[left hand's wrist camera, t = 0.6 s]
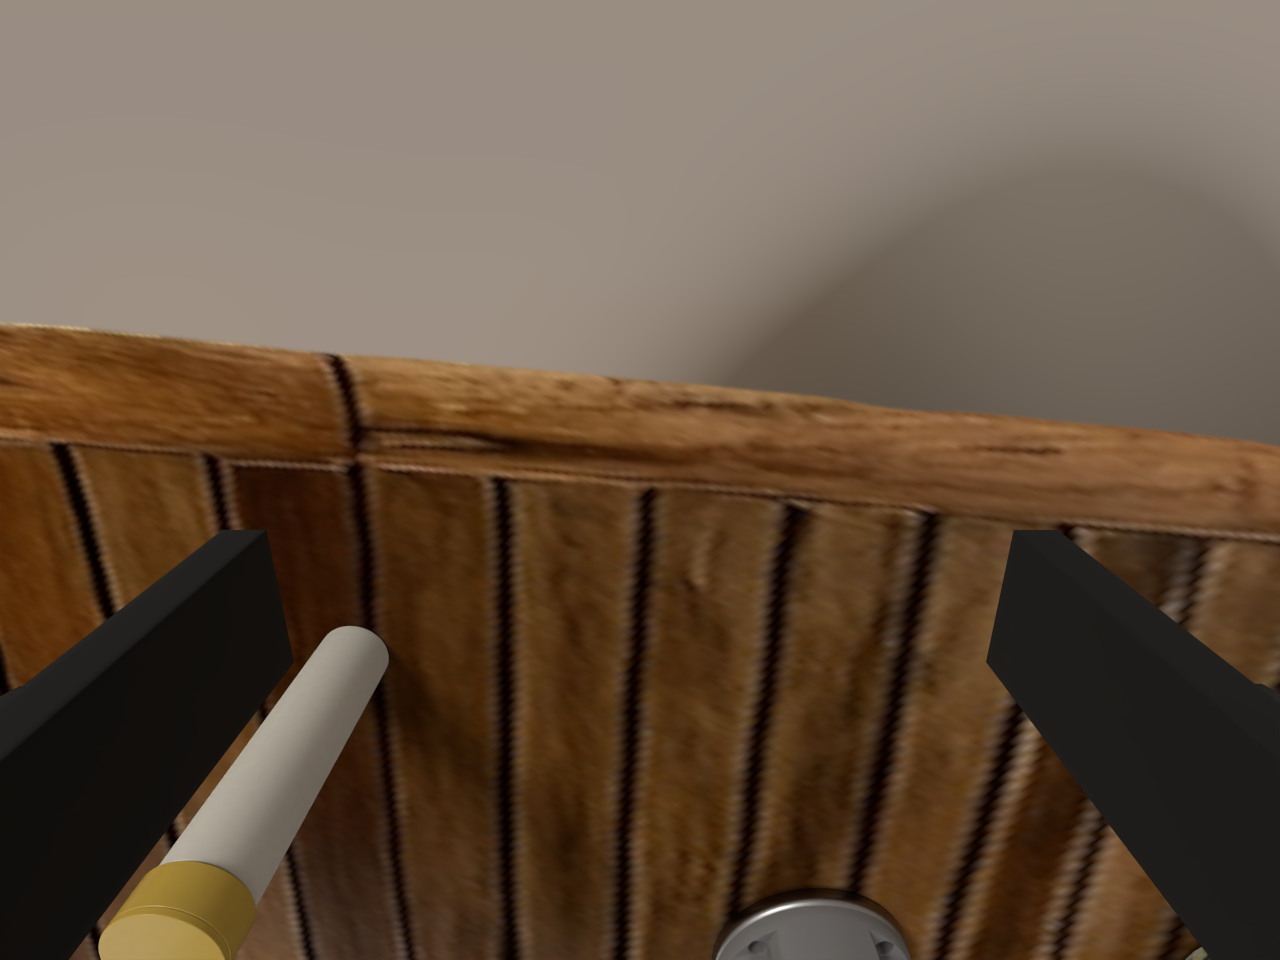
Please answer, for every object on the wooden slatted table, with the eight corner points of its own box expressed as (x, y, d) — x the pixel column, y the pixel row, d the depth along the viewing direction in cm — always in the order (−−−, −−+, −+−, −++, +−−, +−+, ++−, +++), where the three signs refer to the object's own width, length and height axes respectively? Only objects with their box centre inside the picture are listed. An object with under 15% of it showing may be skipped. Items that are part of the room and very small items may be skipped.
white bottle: (401, 649, 46) (245, 941, 28) (367, 693, 47) (195, 999, 29) (342, 613, 45) (140, 891, 27) (308, 658, 46) (93, 953, 28)
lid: (277, 896, 30) (247, 952, 28) (224, 958, 31) (192, 1016, 29) (169, 842, 29) (129, 896, 26) (119, 909, 30) (78, 965, 28)
